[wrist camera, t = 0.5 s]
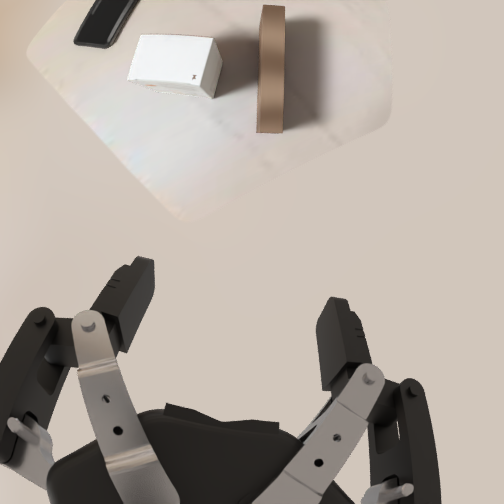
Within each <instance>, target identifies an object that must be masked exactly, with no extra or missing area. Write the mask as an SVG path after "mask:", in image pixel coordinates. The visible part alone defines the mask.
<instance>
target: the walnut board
mask: <svg viewBox="0 0 504 504" xmlns="http://www.w3.org/2000/svg"><path fill="white" fill-rule="evenodd" d="M284 60H285V6H275V5H263V9H262V14H261V20H260V27H259V62H258V96H257V131H256V133H282V131H283V102H284Z"/></svg>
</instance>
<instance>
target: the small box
mask: <svg viewBox="0 0 504 504" xmlns="http://www.w3.org/2000/svg"><path fill="white" fill-rule="evenodd" d="M222 64H223V62H222V59H221V56H220V53H219V51H218V48H217V45H216V42H215V40H214V38H213V37H203V36H192V35H175V34H141V36H140V39H139V42H138V45H137V48H136V51H135V54H134V57H133V61H132V64H131V67H130V71H129V75H128V78H127V81H130V82H132V83H135V84H138V85H140V86H143V87H145V88H148V89H150V90H153V91H155V92H158V93H170V94H180V95H188V96H196V97H203V98H209V99H213V98H214V94H215V90H216V86H217V82H218V79H219V75H220V72H221V68H222Z"/></svg>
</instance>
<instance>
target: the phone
mask: <svg viewBox="0 0 504 504" xmlns="http://www.w3.org/2000/svg"><path fill="white" fill-rule="evenodd" d="M137 1H138V0H96V1H95V2H94V4H93V6H92V7H91V9H90V11H89V12H88V14H87V16H86V17H85V19H84V21H83V23H82V24H81V26H80V28H79V30H78V32H77V34H76V36H75V38H74V44H76V45H78V46H80V45H81V46H87V47H95V48H102V49H106V48H109V47H110V46H111V45H112V44H113V42H114V40H115V39H116V37H117V35H118V33H119V31H120V29H121V28H122V26H123V24H124V22H125V21H126V19H127V17H128V16H129V14H130V12H131V11H132V9H133V8H134V6H135V4H136V3H137Z"/></svg>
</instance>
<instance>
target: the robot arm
mask: <svg viewBox="0 0 504 504" xmlns="http://www.w3.org/2000/svg"><path fill="white" fill-rule="evenodd" d="M154 288H155V277H154V260H152V259H149V258H144V257H140V256H137V257H136V258H135V260H134V261H133V263H132V264H131V265H130V266H129V265H123V266H122V267H120V268H119V269H117V270H116V271H115V272H114V274H113V275H112V277H111V279H110V280H109V281H108V283H107V284H106V286H105V287H104V289H103V290H102V291H101V293H100V294H99V296H98V298H97V299H96V301H95V302H94V304H93V305H92V307H91V308H90V310H85V311H82V312H80V313H78V314H77V315H76V316H75V317H74V318H55V316H54V314H53V312H52V311H51V310H50V309H49V308H46V307H40V308H36V309H34V310H33V311H31V312H30V313H29V315H28V316H27V318H26V319H25V321H24V322H23V324H22V326H21V327H20V329H19V331H18V332H17V334H16V336H15V337H14V339H13V341H12V342H11V344H10V346H9V348H8V350H7V352H6V353H5V355H4V357H3V359H2V361H1V363H0V464H1V465H3V466H5V467H7V468H9V469H12V470H14V471H15V472H17V473H18V474H20V475H22V476H23V477H24V478H26V479H28V480H29V481H31V482H33V483H34V484H36V485H38V486H40V487H42V488H43V489H45V490H47V493H48V496H49V500H50V503H51V504H355V503H354V502H353V501H352V500H351V499H350V498H349V497H348V496H347V495H346V494H345V492H344V491H343V490H342V489H341V488H340V487H339V486H338V485H337V483H335V481H334V480H333V479H334V478H335V477H336V475H337V474H338V472H339V471H340V469H341V468H342V467H343V465H344V464H345V462H346V461H347V459H348V457H349V456H350V455H351V453H352V451H353V450H354V448H355V447H356V445H357V443H358V442H359V440H360V438H361V437H362V435H363V433H364V432H365V430H366V428H367V427H368V439H369V456H370V480H371V481H370V484H371V487H370V488H369V489H368V490H367V491H366V492H365V494H364V497H363V498H362V499H361V504H441V489H440V477H439V468H438V460H437V453H436V447H435V440H434V434H433V429H432V424H431V419H430V414H429V409H428V405H427V401H426V397H425V392H424V389H423V387H422V385H421V384H420V383H419V382H418V381H416V380H415V379H412V378H407V379H405V380H404V381H402V382H401V383H400V384H399V383H396V382H392V381H390V380H387V379H385V378H384V375H383V373H382V372H381V370H380V369H379V368H378V367H376V366H375V365H373V364H372V361H371V357H370V353H369V349H368V346H367V341H366V338H365V334H364V331H363V327H362V324H361V320H360V319H359V318H358V316H357V315H356V313H355V312H353V311H350V308H349V304H348V301H347V300H346V299H342V298H336V297H330V298H329V300H328V301H327V303H326V305H325V307H324V309H323V311H322V313H321V315H320V317H319V318H318V321H317V325H316V336H317V345H318V353H319V362H320V371H321V381H322V390H323V391H331V394H332V396H331V397H330V398H329V400H328V401H327V402H326V404H325V405H324V406H323V408H322V409H321V410H320V411H319V413H318V414H317V415H316V417H315V418H314V419H313V420H312V422H311V423H310V424H309V425H308V427H307V428H306V429H305V430H304V431H303V432H302V433H301V434H300V435H299V436H298V437H297V438H296V437H294V436H293V435H291V434H289V433H288V432H285V431H283V430H280V429H279V422H270V421H259V420H243V421H230V422H221V421H218V420H216V419H214V418H211V417H209V416H207V415H205V414H202V413H200V412H198V411H196V410H193V409H189V408H184V407H180V406H176V405H172V404H168V403H166V406H165V409H155V410H149V411H145V412H142V413H139V414H137V413H136V411H135V408H134V406H133V404H132V401H131V399H130V396H129V394H128V391H127V389H126V386H125V383H124V381H123V378H122V375H121V372H120V369H119V367H118V363H117V360H116V357H117V354H118V352H119V351H121V352H124V353H127V352H128V350H129V347H130V345H131V343H132V340H133V338H134V336H135V334H136V331H137V329H138V327H139V325H140V323H141V321H142V318H143V316H144V314H145V312H146V310H147V308H148V306H149V304H150V302H151V299H152V297H153V293H154ZM71 367H76V368H79V370H77V374H78V379H79V382H80V387H81V391H82V395H83V398H84V402H85V405H86V408H87V412H88V415H89V418H90V421H91V424H92V427H93V430H94V433H95V436H96V440H94V441H92V442H90V443H89V444H87V445H85V446H83V447H82V448H80V449H78V450H76V451H75V452H73V453H71V454H69V455H67V456H65V457H63V458H62V459H60V460H58V461H57V462H54V459H53V456H52V446H53V445H52V439H51V436H50V434H49V433H48V432H47V428H48V425H49V422H50V419H51V416H52V414H53V411H54V408H55V405H56V402H57V400H58V397H59V394H60V392H61V389H62V387H63V384H64V382H65V379H66V377H67V375H68V372H69V370H70V368H71ZM397 421H398V427H399V434H400V439H399V436H398V428H397Z"/></svg>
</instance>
